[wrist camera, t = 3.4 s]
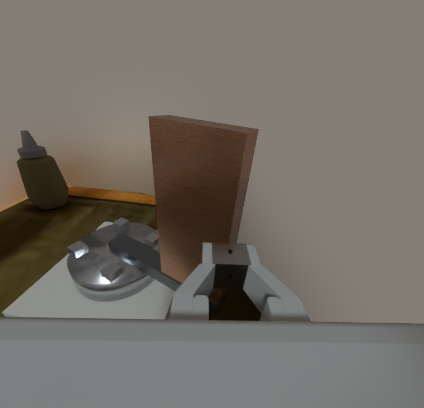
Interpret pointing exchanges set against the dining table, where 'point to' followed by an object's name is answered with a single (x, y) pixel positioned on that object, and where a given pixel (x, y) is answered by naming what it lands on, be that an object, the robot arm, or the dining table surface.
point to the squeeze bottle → (41, 175)
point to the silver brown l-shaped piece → (172, 212)
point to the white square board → (83, 307)
